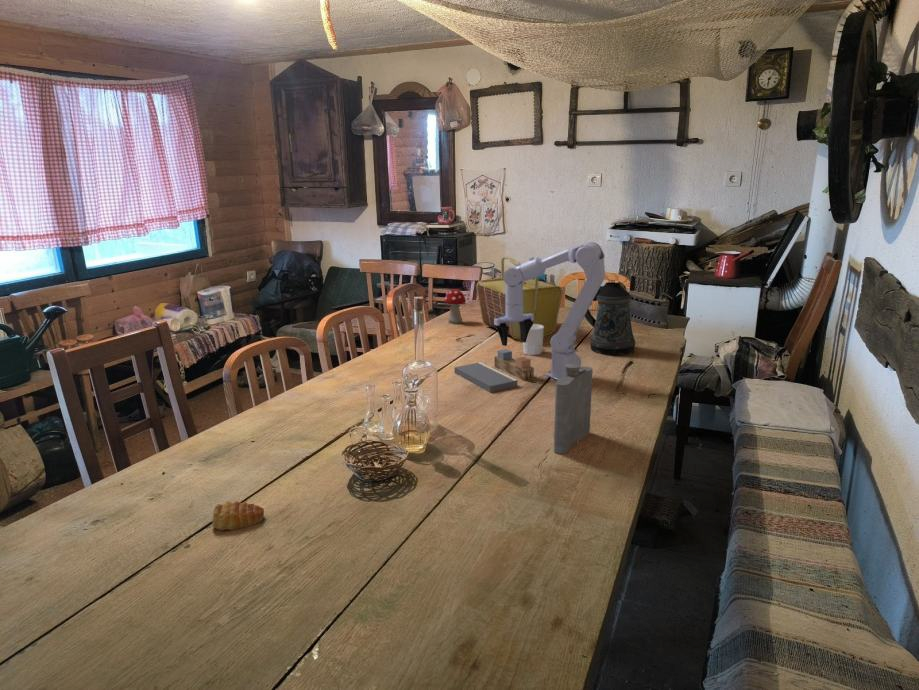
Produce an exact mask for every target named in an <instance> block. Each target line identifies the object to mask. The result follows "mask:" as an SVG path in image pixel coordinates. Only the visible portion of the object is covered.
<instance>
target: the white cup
mask: <svg viewBox="0 0 919 690" xmlns="http://www.w3.org/2000/svg"><path fill="white" fill-rule="evenodd" d="M543 333H544V326H542V325H539V324H533V325H532V327H531V329H530V331H529V333H528V336H527V340H526V342H525V343H524V342H522V352H523V353H524V355H528V356H538V355H540V354H542V352H543V345H544V344H543V343H544V336H543Z"/></svg>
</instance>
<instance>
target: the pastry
mask: <svg viewBox="0 0 919 690" xmlns="http://www.w3.org/2000/svg"><path fill="white" fill-rule="evenodd" d="M264 513H265V509H264V508H263V507H261V506H260V505H256V504H254V503H248V502H240V501H238V500H237V501H234V502H230V501H226V502H225V503H224V504H220V503H218V504H216V505H215V506H214V508H213V514H212V524H211V526H212V528H214V529H216V530H218V531H223V532H224V531H225V530H230V531H232V530H237V529H243V528H247V527H250V526H251V527H252V526H254V525H256V524H257V523H260V522H262V520H263V519H264V517H265V514H264Z"/></svg>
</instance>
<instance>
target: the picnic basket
mask: <svg viewBox="0 0 919 690" xmlns="http://www.w3.org/2000/svg"><path fill="white" fill-rule="evenodd" d="M505 260H507V261H508V260H509V262H510V263H511V264H513V265H514V266H516V264H518V263H520V264H522V263H523V262H520V261H517V260H515V259H514V258H513V257H509V256H502V258H500V273H501V274H500V275H501V277H499V278H498V277H497V278H489V279H488V278H486V279H481V280H479V281H478V282H477V284H476V285H475V286H476V288H475V289H476V292H477V297H478V304H479V309H480V314H481V319H482V322H483V324H484V325H485V326H487V327H491V328H494V329H496V327H495V325H494V319H496V318H500V317H503V316H505V315H506V283H505V282H504V279H503V275H504V272H505ZM563 290H564V289H563V287H562V286H560V285H555V284H552V283H549V282H544V281H541V280H539V276H538V277H535V278H532V279H530V280H527V281H523V314H530V313H531V314H534V320H531V321H532V322H533V324H539V325H542V326H544V333H543V337H546V336H549V335H551V334H553V332H554V331H555V330H556V328H557V322H558V319H559V313H560V308H561V303H562V299H563V294H564V291H563ZM506 325H507V326H508V327H509V330H508V336H509V337H510V336H511V337H512V338H513V339H515V340H521V338H520V325H519V322H514V323H508V324H506ZM496 330H497V329H496Z"/></svg>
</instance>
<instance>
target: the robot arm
mask: <svg viewBox="0 0 919 690" xmlns="http://www.w3.org/2000/svg"><path fill="white" fill-rule="evenodd" d="M605 256H606V255H605V253H604V251H603V249H602V247H601V245H600V244H598V243H596V242H593V241H591V242H587V243H586V244H580V245H576V246H572V247H570V248H567V249H564V250H562V251H560V252H557V253H555V254H553V255H550V256H549V257H546V258H543V259H542V258H540V257H538V256H537V257H534V256H533V257H530V258H528V260H527V261H524V262H520V263H522V264H520V263H518V264H516V265H514V266H512V267H509V268H508V269H506V270H504V275H503V279H504V282H505V283H506V315H505V316H503V317H500V318H496V319H494V325H495V327H496V330H497V333H498V335H499V338H500V341H501V342H500V343H501V345H502V346H504V347H507V346H508V336H509V335H508V330H509V327H508V326H507V325H506V324H508V323H514V322H519V325H520V338H521V339H520V342H521V343H523V342H524V343H525V342H526V340H527V336H528V333H529V331H530V329H531V327H532V325H533V322H532V321H531V320H534V314H531V313H530V314H523V281H527V280H530V279H535V277H538V278H539V277H540V276H542V275H543V276H544V274H545V272H546V270H547V269H549V268H552V267H554V266H557V265H560V264H563V263H566V262H568V263H569V262H570V263H572V264H575V263H577V264H578V265H579V266H580V267H581V269H583V271H584V274H585V276H586V279H585V282H584V283H583V285H582V287H581V289H580V291H579V294H578V295H577V297H576V298H575V300H574V303H573V305H572V307H571V309H570V310H569V312H568V314H567V316H566V317H565V320H564V321H563V323H561V326H560V327H559V329H558V331H557V332H556V333H555V334H553V335H552V336H551V338H550V340H549V343H550V347H551V365H550V366H551V368H550V369H551V372H546V373H545V376H547V377H550V378H552V379H554V380H556V381H557V380H558V379H560V378H561V377H562V376H564V375H565V374H566V369H565V365H566V364H569V363H574V364H579V365H580V367H582V360H581V357H580V356H579V354H577V353H576V351H575V346H574V344H575V342H576V340H577V334H578V331H579V327H580V325H581V323H582V322H583V320H584V318H585V314H586V312H587V310H588V309H590V307H591V305H592V303H593V302H594V301H593V299H594V297H595V295H596V294H597V292H598V290H599V288H600V286H602V284H603V282H604V280H605V278H606V269H605V268H606V266H605Z"/></svg>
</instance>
